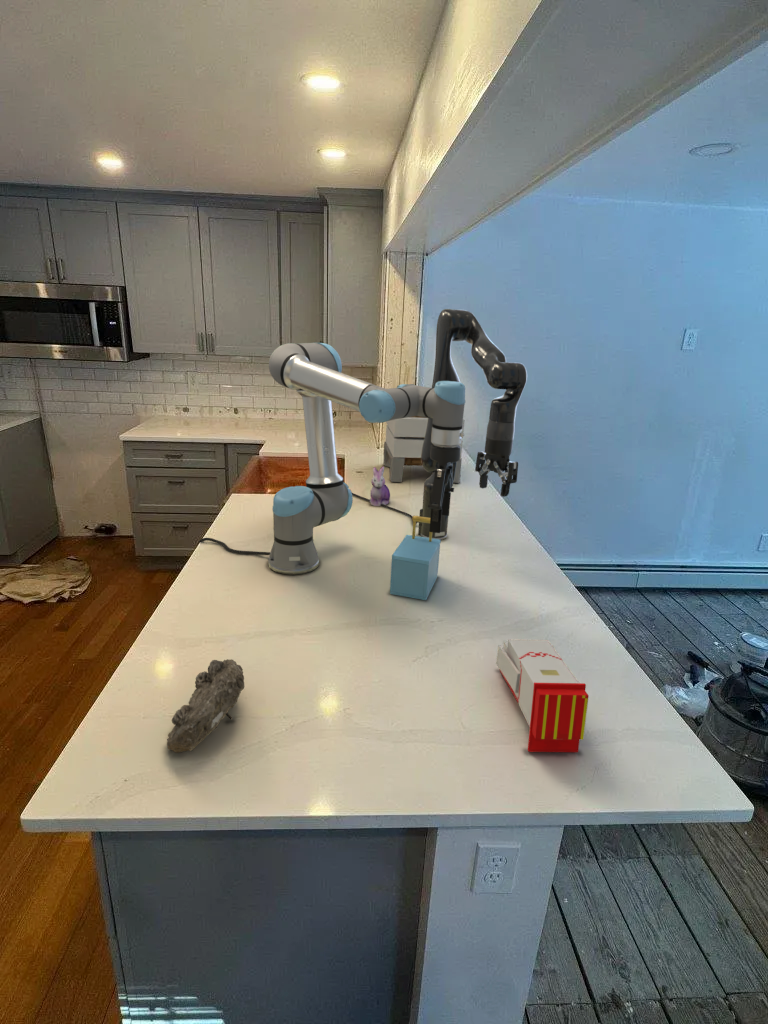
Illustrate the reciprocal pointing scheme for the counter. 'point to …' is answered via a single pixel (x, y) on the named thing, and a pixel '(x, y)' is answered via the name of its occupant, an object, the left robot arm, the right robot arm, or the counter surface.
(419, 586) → the chest
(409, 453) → the grey wooden crate
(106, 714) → the counter surface
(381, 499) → the figurine
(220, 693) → the fossil
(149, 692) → the counter surface
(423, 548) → the lid
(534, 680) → the toy
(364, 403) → the left robot arm
